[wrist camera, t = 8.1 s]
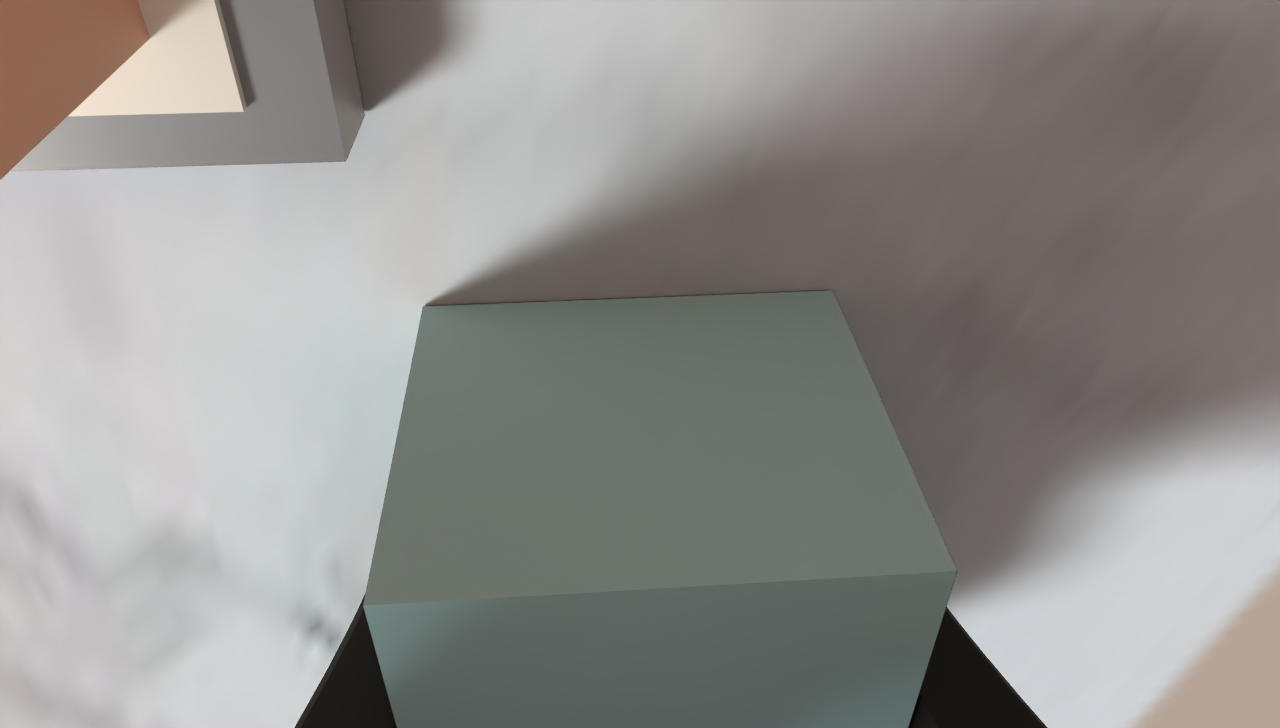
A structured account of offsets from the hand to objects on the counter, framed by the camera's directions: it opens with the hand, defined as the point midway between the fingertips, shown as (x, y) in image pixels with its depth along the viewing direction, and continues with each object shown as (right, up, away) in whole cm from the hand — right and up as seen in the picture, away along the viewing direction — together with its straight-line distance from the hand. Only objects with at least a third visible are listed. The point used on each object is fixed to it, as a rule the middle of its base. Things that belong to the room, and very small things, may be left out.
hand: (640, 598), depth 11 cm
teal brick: (0, +1, +1) cm, 1 cm away
